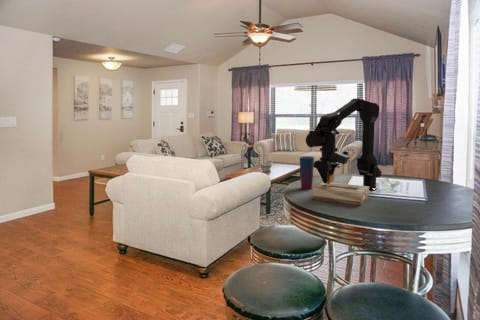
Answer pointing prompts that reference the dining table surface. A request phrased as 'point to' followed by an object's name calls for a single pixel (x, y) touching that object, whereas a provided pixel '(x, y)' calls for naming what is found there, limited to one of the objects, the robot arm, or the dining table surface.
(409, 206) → the dining table surface
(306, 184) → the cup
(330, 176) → the peg
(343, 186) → the keyhole track
